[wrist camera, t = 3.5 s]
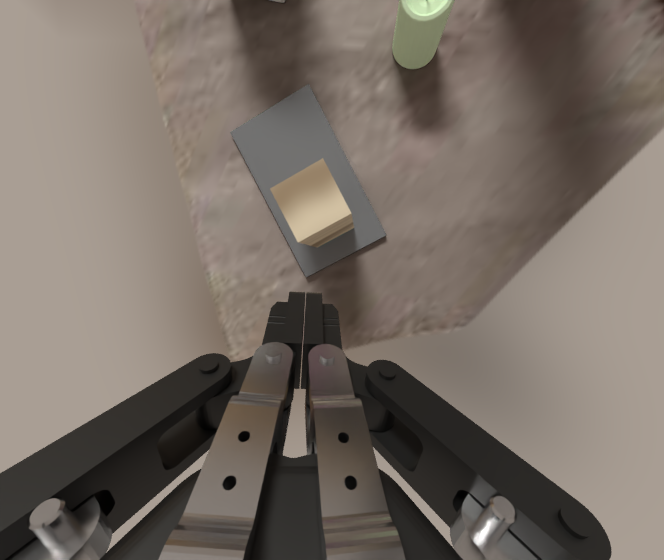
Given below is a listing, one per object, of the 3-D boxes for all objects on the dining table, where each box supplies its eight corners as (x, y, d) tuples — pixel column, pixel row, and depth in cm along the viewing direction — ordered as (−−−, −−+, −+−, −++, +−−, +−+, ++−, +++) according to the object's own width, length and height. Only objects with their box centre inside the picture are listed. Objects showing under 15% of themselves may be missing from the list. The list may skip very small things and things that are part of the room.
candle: (419, 78, 33) (439, 19, 25) (383, 55, 33) (391, -11, 25) (445, 38, 32) (474, -36, 24) (408, 15, 33) (424, -66, 25)
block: (354, 228, 34) (351, 213, 23) (317, 247, 35) (297, 242, 24) (335, 191, 34) (322, 158, 23) (298, 211, 35) (269, 188, 24)
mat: (385, 235, 35) (386, 235, 34) (306, 277, 36) (306, 277, 35) (309, 86, 34) (308, 83, 34) (232, 134, 36) (230, 132, 35)
